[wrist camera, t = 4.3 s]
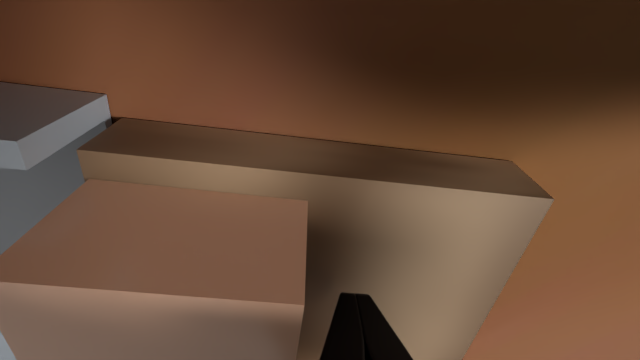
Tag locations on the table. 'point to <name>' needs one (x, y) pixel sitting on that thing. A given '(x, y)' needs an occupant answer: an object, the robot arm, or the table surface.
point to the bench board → (357, 219)
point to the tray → (41, 155)
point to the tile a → (157, 276)
